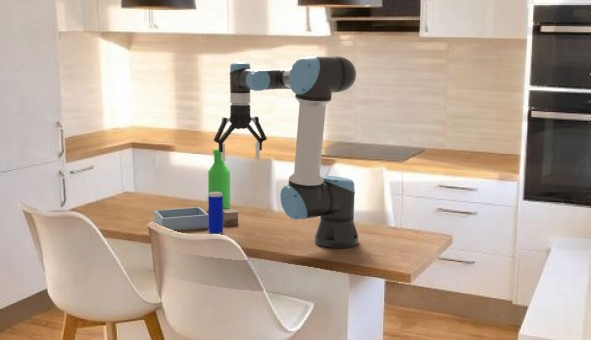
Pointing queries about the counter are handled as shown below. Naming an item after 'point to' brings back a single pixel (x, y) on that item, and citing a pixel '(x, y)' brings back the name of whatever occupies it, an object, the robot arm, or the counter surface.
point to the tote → (182, 218)
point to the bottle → (219, 179)
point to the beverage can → (215, 212)
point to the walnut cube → (230, 217)
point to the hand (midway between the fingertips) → (240, 159)
